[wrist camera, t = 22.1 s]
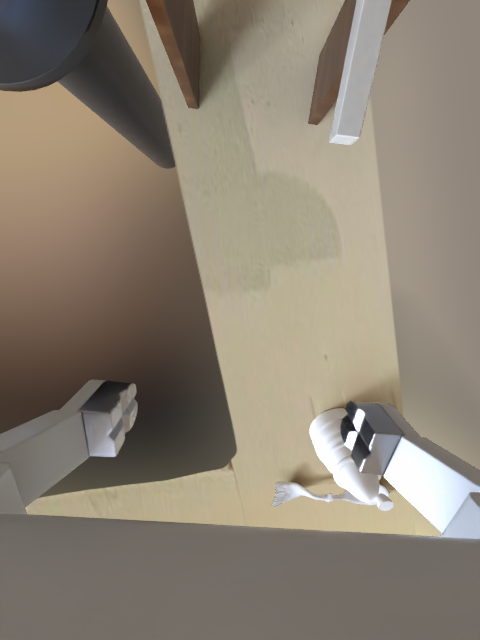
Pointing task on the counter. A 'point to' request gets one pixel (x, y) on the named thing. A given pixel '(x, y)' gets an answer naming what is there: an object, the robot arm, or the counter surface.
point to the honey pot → (344, 459)
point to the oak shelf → (184, 49)
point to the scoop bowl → (359, 69)
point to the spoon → (294, 490)
